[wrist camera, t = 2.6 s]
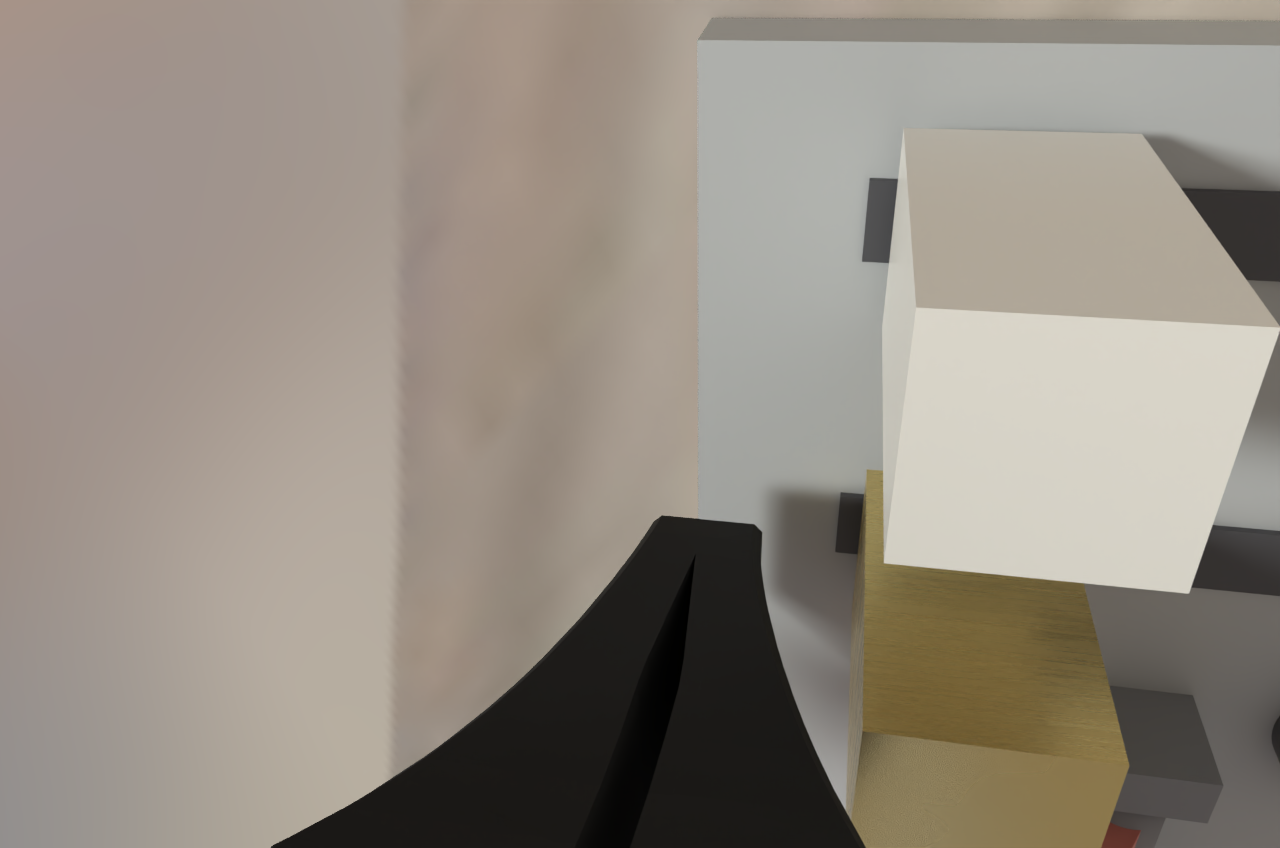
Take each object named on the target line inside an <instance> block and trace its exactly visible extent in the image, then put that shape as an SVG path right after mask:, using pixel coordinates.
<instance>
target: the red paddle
mask: <svg viewBox="0 0 1280 848" xmlns="http://www.w3.org/2000/svg"><path fill="white" fill-rule="evenodd" d="M1165 819H1166V818H1163V817H1156V816H1148V815H1141V814H1134V813H1127V812H1119V811H1114V812H1113V815H1112V818H1111V821H1110V823H1109V826H1108V829H1107V832H1106V835H1105V838H1104V841H1103V844H1102V847H1101V848H1154V847H1155V845H1156V842H1157V840H1158V837H1159V834H1160V832H1161V829H1162V827H1163V824H1164V822H1165Z"/></svg>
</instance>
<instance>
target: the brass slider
mask: <svg viewBox="0 0 1280 848" xmlns="http://www.w3.org/2000/svg"><path fill="white" fill-rule="evenodd" d="M1128 768H1129V762H1128V758H1127V754H1126V750H1125V746H1124V742H1123V738H1122V734H1121V730H1120V726H1119V722H1118V718H1117V714H1116V710H1115V706H1114V702H1113V698H1112V694H1111V690H1110V686H1109V683H1108V679H1107V675H1106V671H1105V667H1104V663H1103V659H1102V655H1101V651H1100V647H1099V643H1098V639H1097V635H1096V631H1095V627H1094V623H1093V619H1092V615H1091V611H1090V607H1089V603H1088V599H1087V595H1086V591H1085V587H1084V583H1076V582H1066V581H1056V580H1046V579H1036V578H1026V577H1016V576H1006V575H996V574H986V573H976V572H966V571H956V570H946V569H936V568H926V567H916V566H906V565H896V564H886V563H884V523H883V471H881V470H869V469H867V471H866V481H865V490H864V499H863V508H862V518H861V527H860V536H859V546H858V555H857V564H856V573H855V583H854V592H853V601H852V623H851V656H850V688H849V720H848V752H847V784H846V812H847V814H848V816H849V818H850V819H851V821H852V823H853V825H854V827H855V829H856V830H857V832H858V834H859V836H860V838H861V839H862V841H863V843H864V845H865V847H866V848H1101V847H1102V844H1103V841H1104V838H1105V835H1106V832H1107V829H1108V826H1109V823H1110V821H1111V818H1112V815H1113V812H1114V809H1115V806H1116V803H1117V800H1118V797H1119V794H1120V792H1121V789H1122V786H1123V783H1124V780H1125V777H1126V774H1127V771H1128Z"/></svg>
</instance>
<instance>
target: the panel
mask: <svg viewBox="0 0 1280 848" xmlns="http://www.w3.org/2000/svg"><path fill="white" fill-rule="evenodd" d="M697 70H698V519H705V520H715V521H726V522H737V523H748V524H755V525H756V526H757V527H758V528H759V529H760V530H761V531H762V555H761V568H762V577H763V584H764V590H765V596H766V601H767V606H768V611H769V615H770V619H771V623H772V627H773V631H774V635H775V639H776V643H777V647H778V650H779V653H780V657H781V660H782V663H783V666H784V669H785V672H786V675H787V678H788V681H789V684H790V687H791V690H792V693H793V696H794V699H795V701H796V704H797V707H798V709H799V712H800V714H801V717H802V719H803V722H804V724H805V727H806V729H807V732H808V734H809V736H810V739H811V741H812V743H813V746H814V748H815V750H816V752H817V755H818V757H819V759H820V761H821V763H822V765H823V767H824V769H825V772H826V774H827V776H828V778H829V780H830V782H831V784H832V786H833V788H834V790H835V792H836V794H837V796H838V798H839V799H840V801H841V803H842V805H843V807H844V809H845V810H846V784H847V752H848V720H849V688H850V656H851V623H852V601H853V592H854V583H855V573H856V564H857V555H858V546H859V536H860V527H861V518H862V508H863V499H864V490H865V481H866V471H867V469H869V470H881V471H883V383H882V323H883V314H884V305H885V295H886V286H887V277H888V268H889V258H890V249H891V240H892V231H893V221H894V212H895V203H896V194H897V184H898V175H899V166H900V156H901V147H902V138H903V129H904V128H926V129H967V130H1008V131H1049V132H1090V133H1131V134H1142V135H1143V136H1144V138H1145V139H1146V140H1147V142H1148V143H1149V144H1150V146H1151V147H1152V149H1153V150H1154V151H1155V153H1156V154H1157V156H1158V157H1159V158H1160V160H1161V161H1162V163H1163V164H1164V165H1165V167H1166V168H1167V170H1168V171H1169V172H1170V174H1171V175H1172V177H1173V178H1174V179H1175V181H1176V182H1177V184H1178V185H1179V186H1180V188H1181V189H1182V191H1183V192H1184V193H1185V195H1186V196H1187V197H1188V199H1189V200H1190V202H1191V203H1192V204H1193V206H1194V207H1195V209H1196V210H1197V211H1198V213H1199V214H1200V216H1201V217H1202V218H1203V220H1204V221H1205V223H1206V224H1207V225H1208V227H1209V228H1210V230H1211V231H1212V232H1213V234H1214V235H1215V237H1216V238H1217V239H1218V241H1219V242H1220V244H1221V245H1222V246H1223V248H1224V249H1225V250H1226V252H1227V253H1228V255H1229V256H1230V257H1231V259H1232V260H1233V262H1234V263H1235V264H1236V266H1237V267H1238V269H1239V270H1240V271H1241V273H1242V274H1243V276H1244V277H1245V278H1246V280H1247V281H1248V283H1249V284H1250V285H1251V287H1252V288H1253V290H1254V291H1255V292H1256V294H1257V295H1258V297H1259V298H1260V299H1261V301H1262V302H1263V303H1264V305H1265V306H1266V308H1267V309H1268V310H1269V312H1270V313H1271V315H1272V316H1273V317H1274V319H1275V320H1276V322H1277V323H1278V324H1279V326H1280V21H1187V20H1004V19H820V18H712V19H711V20H710V22H709V23H708V25H707V26H706V28H705V29H704V31H703V32H702V34H701V35H700V37H699V38H698V40H697ZM1084 587H1085V591H1086V595H1087V599H1088V603H1089V607H1090V611H1091V615H1092V619H1093V623H1094V627H1095V631H1096V635H1097V639H1098V643H1099V647H1100V651H1101V655H1102V659H1103V663H1104V667H1105V671H1106V675H1107V679H1108V683H1109V686H1110V690H1111V694H1112V698H1113V702H1114V706H1115V710H1116V714H1117V718H1118V722H1119V726H1120V730H1121V734H1122V738H1123V742H1124V746H1125V750H1126V754H1127V758H1128V762H1129V768H1128V771H1127V774H1126V777H1125V780H1124V783H1123V786H1122V789H1121V792H1120V794H1119V797H1118V800H1117V803H1116V806H1115V809H1114V811H1119V812H1127V813H1134V814H1141V815H1148V816H1156V817H1163V818H1166V819H1165V822H1164V824H1163V827H1162V829H1161V832H1160V834H1159V837H1158V840H1157V842H1156V845H1155V847H1154V848H1280V332H1279V335H1278V337H1277V340H1276V343H1275V346H1274V349H1273V352H1272V355H1271V358H1270V361H1269V363H1268V366H1267V369H1266V372H1265V375H1264V378H1263V381H1262V384H1261V387H1260V390H1259V392H1258V395H1257V398H1256V401H1255V404H1254V407H1253V410H1252V413H1251V416H1250V418H1249V421H1248V424H1247V427H1246V430H1245V433H1244V436H1243V439H1242V442H1241V444H1240V447H1239V450H1238V453H1237V456H1236V459H1235V462H1234V465H1233V468H1232V470H1231V473H1230V476H1229V479H1228V482H1227V485H1226V488H1225V491H1224V494H1223V497H1222V499H1221V502H1220V505H1219V508H1218V511H1217V514H1216V517H1215V520H1214V523H1213V525H1212V528H1211V531H1210V534H1209V537H1208V540H1207V543H1206V546H1205V549H1204V551H1203V554H1202V557H1201V560H1200V563H1199V566H1198V569H1197V572H1196V575H1195V578H1194V580H1193V583H1192V586H1191V589H1190V592H1189V594H1186V593H1176V592H1166V591H1156V590H1146V589H1136V588H1126V587H1116V586H1106V585H1096V584H1086V583H1084Z"/></svg>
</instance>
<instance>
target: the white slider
mask: <svg viewBox="0 0 1280 848" xmlns="http://www.w3.org/2000/svg"><path fill="white" fill-rule="evenodd" d="M1279 332H1280V326H1279V324H1278V323H1277V322H1276V320H1275V319H1274V317H1273V316H1272V315H1271V313H1270V312H1269V310H1268V309H1267V308H1266V306H1265V305H1264V303H1263V302H1262V301H1261V299H1260V298H1259V297H1258V295H1257V294H1256V292H1255V291H1254V290H1253V288H1252V287H1251V285H1250V284H1249V283H1248V281H1247V280H1246V278H1245V277H1244V276H1243V274H1242V273H1241V271H1240V270H1239V269H1238V267H1237V266H1236V264H1235V263H1234V262H1233V260H1232V259H1231V257H1230V256H1229V255H1228V253H1227V252H1226V250H1225V249H1224V248H1223V246H1222V245H1221V244H1220V242H1219V241H1218V239H1217V238H1216V237H1215V235H1214V234H1213V232H1212V231H1211V230H1210V228H1209V227H1208V225H1207V224H1206V223H1205V221H1204V220H1203V218H1202V217H1201V216H1200V214H1199V213H1198V211H1197V210H1196V209H1195V207H1194V206H1193V204H1192V203H1191V202H1190V200H1189V199H1188V197H1187V196H1186V195H1185V193H1184V192H1183V191H1182V189H1181V188H1180V186H1179V185H1178V184H1177V182H1176V181H1175V179H1174V178H1173V177H1172V175H1171V174H1170V172H1169V171H1168V170H1167V168H1166V167H1165V165H1164V164H1163V163H1162V161H1161V160H1160V158H1159V157H1158V156H1157V154H1156V153H1155V151H1154V150H1153V149H1152V147H1151V146H1150V144H1149V143H1148V142H1147V140H1146V139H1145V138H1144V136H1143V135H1142V134H1131V133H1090V132H1049V131H1008V130H967V129H926V128H904V129H903V138H902V147H901V156H900V166H899V175H898V184H897V194H896V203H895V212H894V221H893V231H892V240H891V249H890V258H889V268H888V277H887V286H886V295H885V305H884V314H883V323H882V383H883V523H884V563H886V564H896V565H906V566H916V567H926V568H936V569H946V570H956V571H966V572H976V573H986V574H996V575H1006V576H1016V577H1026V578H1036V579H1046V580H1056V581H1066V582H1076V583H1086V584H1096V585H1106V586H1116V587H1126V588H1136V589H1146V590H1156V591H1166V592H1176V593H1186V594H1189V592H1190V589H1191V586H1192V583H1193V580H1194V578H1195V575H1196V572H1197V569H1198V566H1199V563H1200V560H1201V557H1202V554H1203V551H1204V549H1205V546H1206V543H1207V540H1208V537H1209V534H1210V531H1211V528H1212V525H1213V523H1214V520H1215V517H1216V514H1217V511H1218V508H1219V505H1220V502H1221V499H1222V497H1223V494H1224V491H1225V488H1226V485H1227V482H1228V479H1229V476H1230V473H1231V470H1232V468H1233V465H1234V462H1235V459H1236V456H1237V453H1238V450H1239V447H1240V444H1241V442H1242V439H1243V436H1244V433H1245V430H1246V427H1247V424H1248V421H1249V418H1250V416H1251V413H1252V410H1253V407H1254V404H1255V401H1256V398H1257V395H1258V392H1259V390H1260V387H1261V384H1262V381H1263V378H1264V375H1265V372H1266V369H1267V366H1268V363H1269V361H1270V358H1271V355H1272V352H1273V349H1274V346H1275V343H1276V340H1277V337H1278V335H1279Z"/></svg>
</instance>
